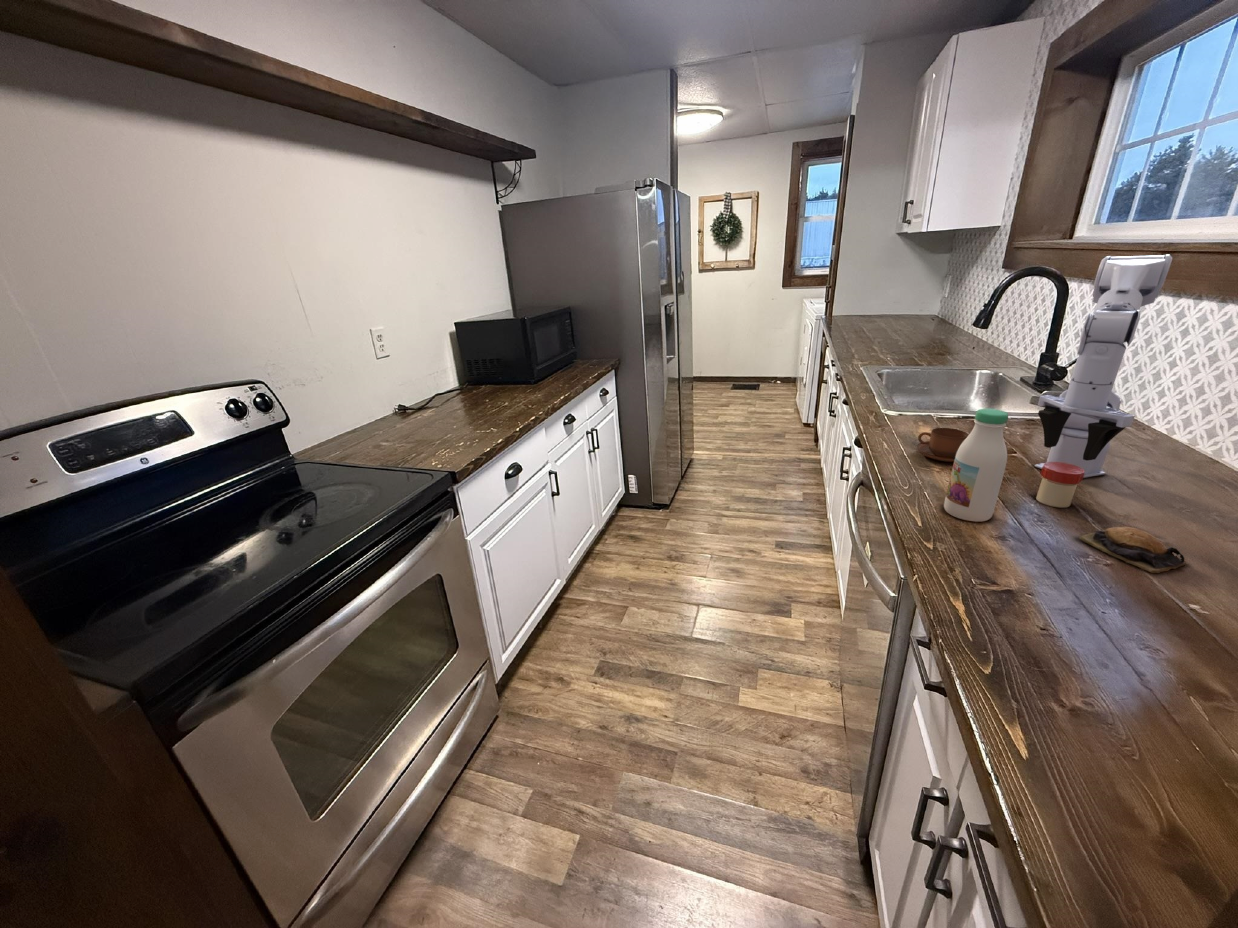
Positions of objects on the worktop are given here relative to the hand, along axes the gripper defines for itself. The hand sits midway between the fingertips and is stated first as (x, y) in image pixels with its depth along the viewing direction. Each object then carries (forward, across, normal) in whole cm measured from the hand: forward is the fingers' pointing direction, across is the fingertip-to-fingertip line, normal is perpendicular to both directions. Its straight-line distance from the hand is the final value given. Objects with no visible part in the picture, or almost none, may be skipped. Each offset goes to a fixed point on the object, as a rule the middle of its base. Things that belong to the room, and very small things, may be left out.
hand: (1068, 452), depth 93 cm
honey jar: (+10, 0, 0) cm, 10 cm away
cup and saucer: (+10, -25, -1) cm, 27 cm away
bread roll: (+10, +17, -6) cm, 21 cm away
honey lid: (+3, 0, 0) cm, 4 cm away
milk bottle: (+10, -1, -19) cm, 22 cm away
